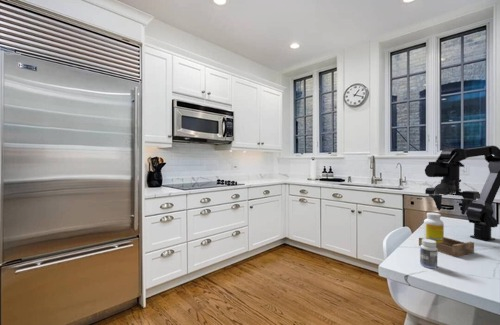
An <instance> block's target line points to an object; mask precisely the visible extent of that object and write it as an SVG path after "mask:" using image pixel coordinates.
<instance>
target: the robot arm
mask: <svg viewBox="0 0 500 325" xmlns="http://www.w3.org/2000/svg"><path fill="white" fill-rule="evenodd" d="M440 152H441V153H440V154H439V156H437V158H436V160H435V161H428V164H427V165H426V166H425V169H424V174H425V176H427V177H428V178H441V179H440V183H438V184H437V185H435V186H434V187H426V188H425V189H424V190H425V195H428V197H430V198H432V200H433V201H434V204H435V206H436V208H437V211H439V212H440V211H441V210H442V200H443V196H456V197H457V196H458V197H461V198H460V200H461V215H466V217H467V220H468V222H469V223H472V224H473V235H472V234H471V235H470V236H469V237H470V238H473V239H478V240H480V241H485V242H489V241H495V240H496V238H495V237H492V228H497V227H498V225H499V221H498V220H497V219H496V218H495V217H494V216H493V215H494V209H493V208H494V207H493V206H492V205H493V203H494V200H495V198H496V195H497V193H498V191H499V189H500V148H499V147H498V146H497V145H484V146H480V147H471V148H444V149H442V150H441V151H440ZM482 156H483V157H484V160H485V161H486V162H487V163H488V165H487V167H488V172H489V174H488V176H487V178H486V180H485V183H484V184H483V187H482V189H481V190H480V192H479V191H477V190H476V191H474V190H464V191H462V189H461V188H460V183H461V182H462V179H460V178H461V177H460V176H461V175H460V172H461V169H460V168H464V167H465V165H464V164H463V163H462V162H461V161H465V160H466V159H469V158H474V157H482ZM473 201H474V202H473Z"/></svg>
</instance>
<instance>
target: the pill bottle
mask: <svg viewBox="0 0 500 325" xmlns="http://www.w3.org/2000/svg"><path fill="white" fill-rule="evenodd" d="M419 248H420V249H419V252H420V253H419V256H420V257H419V258H420V259H419V264H420V265H421V266H422V267H425V268H427V269H437V268H438V255H439V254H438V249H437V248H436V241H434V240H430V239H424V238H423V239H422V245H421V246H420V245H419Z"/></svg>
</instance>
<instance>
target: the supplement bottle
mask: <svg viewBox="0 0 500 325" xmlns="http://www.w3.org/2000/svg"><path fill="white" fill-rule="evenodd" d="M441 216H442V215H441V213H437V212H427V213H426V218H425V219H424V220H423V239H430V240H434V241H436V242H437V243H440V244H443V243H444V237H445V236H444V228H445V227H444V221H443V220H441Z"/></svg>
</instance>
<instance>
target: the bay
mask: <svg viewBox="0 0 500 325" xmlns="http://www.w3.org/2000/svg"><path fill="white" fill-rule="evenodd" d="M422 239H424V237H418V246H419V247H420V246H421V245H422ZM436 248H437V249H438V252H439V253H441V254H445V255H447V256H451V257H454V258H456V257H462V256H466V255H470V254H471V255H472V254H474V253H475V242H473V241H468V242H464V241H459V240H456V239H452V238H449V237H445V236H444V243H443V244H440V243H437V242H436Z"/></svg>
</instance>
